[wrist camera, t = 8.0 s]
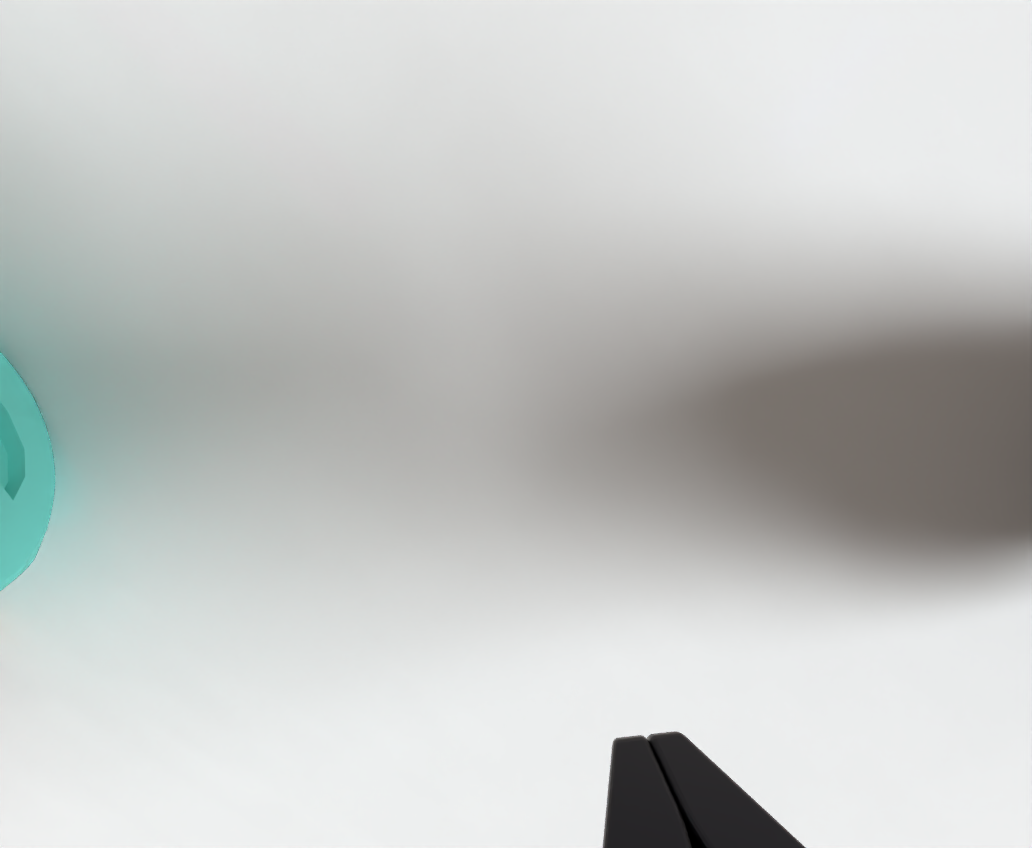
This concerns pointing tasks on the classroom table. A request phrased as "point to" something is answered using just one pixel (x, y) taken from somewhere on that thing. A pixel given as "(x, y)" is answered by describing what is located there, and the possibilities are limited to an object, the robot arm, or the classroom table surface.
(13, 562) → the decorative dice
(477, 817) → the classroom table surface
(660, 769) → the robot arm
